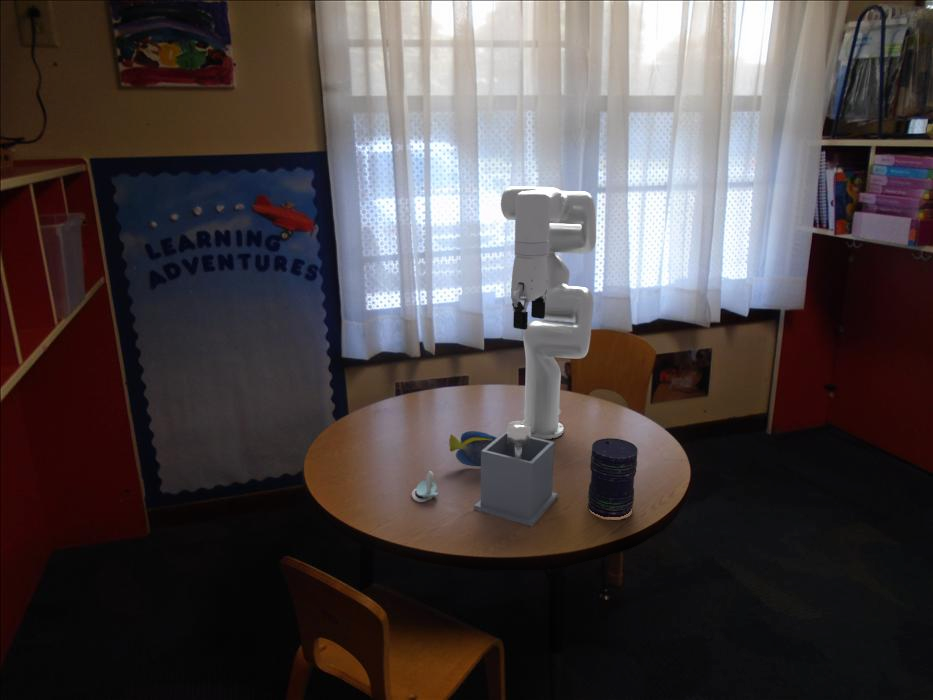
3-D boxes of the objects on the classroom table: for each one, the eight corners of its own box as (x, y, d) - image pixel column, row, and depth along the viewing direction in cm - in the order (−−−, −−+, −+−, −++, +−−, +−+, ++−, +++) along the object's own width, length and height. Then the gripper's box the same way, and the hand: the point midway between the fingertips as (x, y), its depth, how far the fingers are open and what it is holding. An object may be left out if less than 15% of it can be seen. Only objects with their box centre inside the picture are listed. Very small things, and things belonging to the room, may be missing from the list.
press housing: (502, 482, 163) (503, 428, 159) (557, 497, 157) (560, 441, 153) (474, 509, 152) (474, 451, 147) (532, 526, 145) (534, 466, 141)
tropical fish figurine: (512, 466, 171) (513, 429, 168) (512, 472, 168) (513, 434, 165) (449, 463, 172) (449, 427, 169) (448, 469, 169) (448, 432, 166)
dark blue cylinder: (641, 516, 149) (647, 454, 145) (602, 524, 146) (607, 461, 141) (616, 494, 158) (621, 435, 154) (579, 502, 155) (582, 441, 150)
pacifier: (412, 506, 153) (439, 503, 154) (411, 481, 151) (438, 478, 152) (410, 489, 160) (436, 487, 161) (409, 465, 158) (434, 463, 159)
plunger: (507, 477, 159) (509, 413, 155) (544, 487, 155) (547, 422, 150) (488, 495, 152) (489, 428, 147) (527, 506, 147) (530, 438, 142)
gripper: (532, 241, 160) (529, 311, 166) (498, 253, 146) (497, 330, 152) (562, 244, 157) (558, 316, 162) (531, 256, 143) (528, 335, 148)
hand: (529, 323), depth 157 cm, fingers open, 9 cm apart
